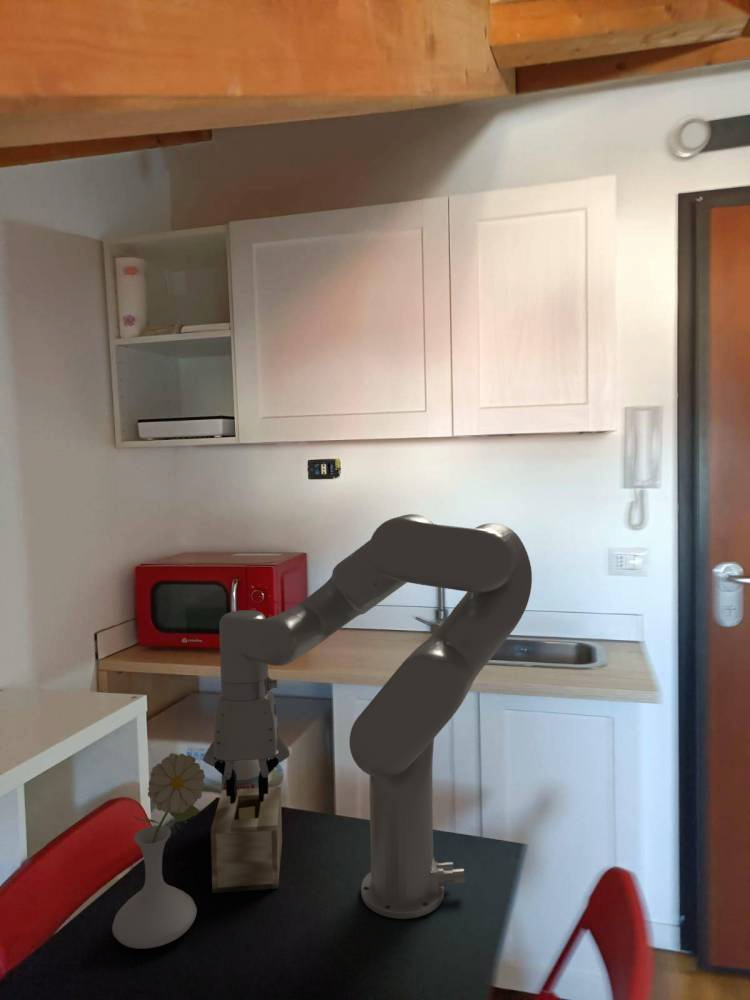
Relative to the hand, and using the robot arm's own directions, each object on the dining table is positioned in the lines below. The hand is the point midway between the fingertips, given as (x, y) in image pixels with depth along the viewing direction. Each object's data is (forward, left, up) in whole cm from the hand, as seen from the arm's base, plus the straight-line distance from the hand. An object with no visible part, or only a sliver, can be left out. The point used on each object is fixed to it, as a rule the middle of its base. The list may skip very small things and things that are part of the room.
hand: (247, 797), depth 111 cm
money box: (0, 0, -11) cm, 11 cm away
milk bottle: (+2, -12, -12) cm, 17 cm away
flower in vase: (+11, +14, -12) cm, 21 cm away
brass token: (0, -2, -7) cm, 7 cm away
